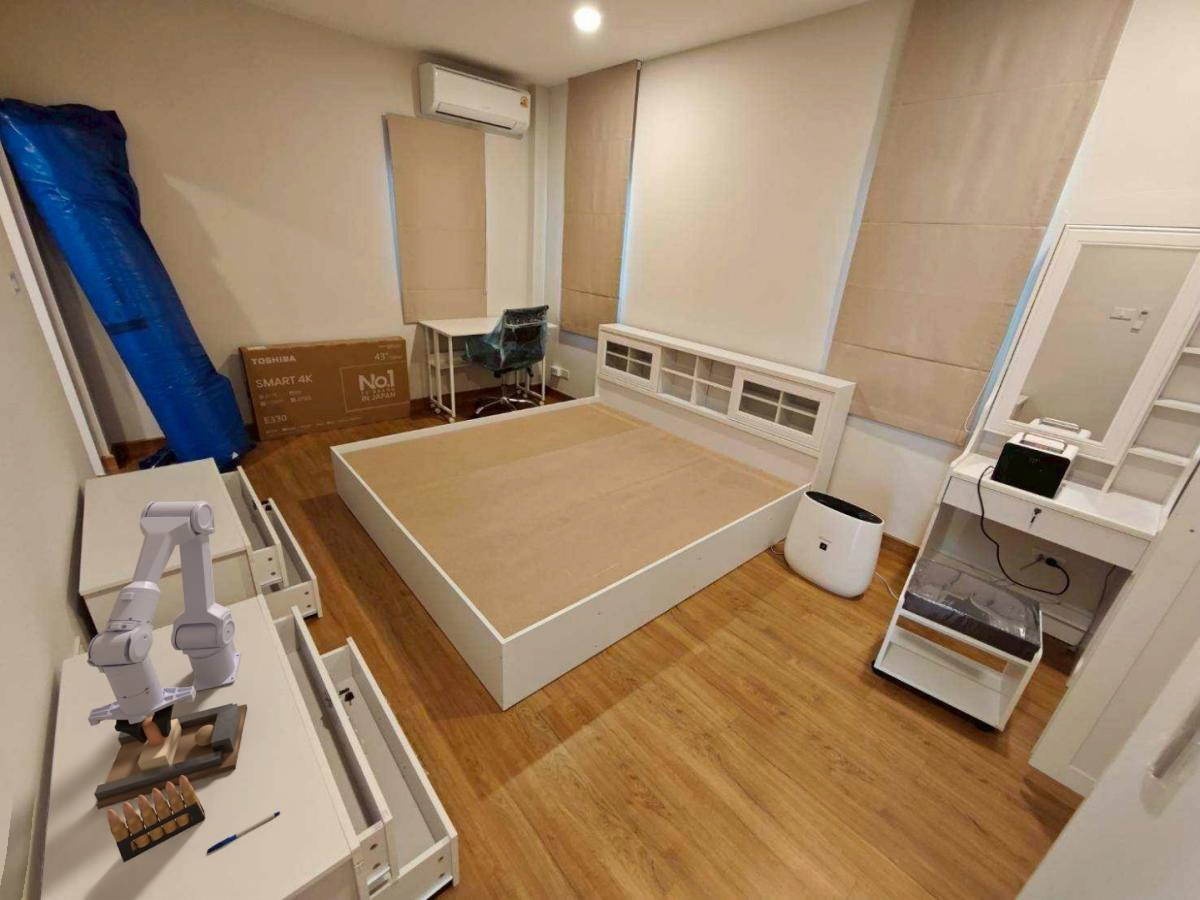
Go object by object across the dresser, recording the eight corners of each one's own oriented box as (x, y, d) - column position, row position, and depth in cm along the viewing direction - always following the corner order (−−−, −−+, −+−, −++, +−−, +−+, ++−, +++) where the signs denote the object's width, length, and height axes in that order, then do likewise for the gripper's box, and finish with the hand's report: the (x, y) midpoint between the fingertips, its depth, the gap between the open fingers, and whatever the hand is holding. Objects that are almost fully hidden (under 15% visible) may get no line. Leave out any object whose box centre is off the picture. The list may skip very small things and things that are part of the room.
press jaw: (156, 737, 98) (144, 707, 94) (182, 730, 100) (170, 700, 96) (143, 775, 92) (129, 744, 88) (170, 767, 93) (158, 737, 90)
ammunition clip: (204, 810, 89) (187, 767, 84) (205, 819, 88) (188, 776, 83) (123, 852, 82) (100, 808, 77) (123, 862, 81) (100, 818, 76)
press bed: (126, 739, 99) (119, 721, 97) (247, 707, 107) (242, 691, 105) (98, 809, 87) (88, 790, 85) (235, 768, 96) (229, 750, 94)
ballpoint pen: (207, 856, 83) (206, 853, 83) (207, 851, 84) (205, 848, 83) (280, 814, 90) (279, 811, 89) (279, 810, 90) (278, 807, 90)
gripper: (70, 716, 82) (97, 768, 87) (180, 690, 88) (199, 741, 93) (88, 682, 88) (112, 733, 93) (191, 660, 93) (207, 710, 99)
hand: (156, 735), depth 94 cm, fingers closed on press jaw, 3 cm apart
